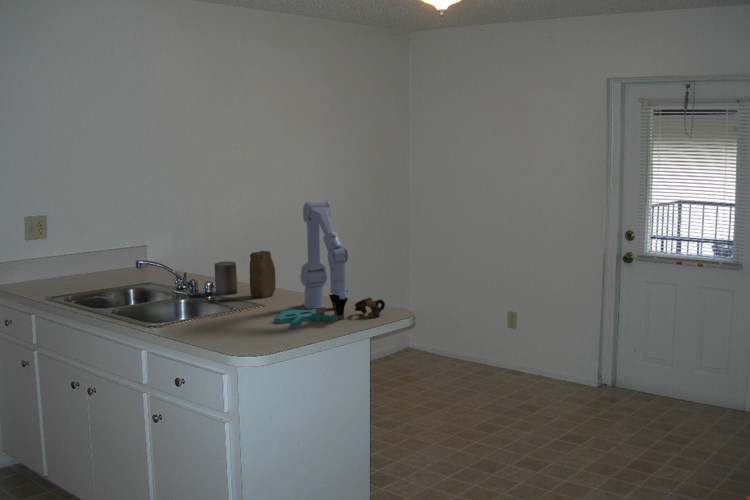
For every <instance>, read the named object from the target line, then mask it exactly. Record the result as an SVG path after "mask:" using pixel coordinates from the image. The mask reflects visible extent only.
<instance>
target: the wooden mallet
mask: <svg viewBox="0 0 750 500" xmlns="http://www.w3.org/2000/svg"><path fill="white" fill-rule="evenodd" d="M315 310H316V313H317V314H319V313H321V312H325V313H328V312H333V315H337V313H336V307H335V303H334V307H333V306H332V307H325V308H315ZM339 320H345V311H344V312H343V315H341V316H338V320H337V321H339Z"/></svg>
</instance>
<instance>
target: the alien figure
mask: <svg viewBox="0 0 750 500" xmlns="http://www.w3.org/2000/svg"><path fill="white" fill-rule="evenodd" d="M273 321H274V323H276V324H279V325H284V324H289V328H290V329H298V328H299V327H301V325H302V324H303V323H304V322H310V321H316V322H318V321H324V322H329V321H331V322H336V321H339V320H338V316H337V315H334V314H331V315H329V314H326V312H321V313H319V314H317V313H316V309H315V310H313V309H307V310H306V309H300V310H299V309H298V310H297V309H289V310H284V311H280V312H279V313H278V314H277V315H276V316H275V317H273Z"/></svg>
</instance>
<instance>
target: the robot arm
mask: <svg viewBox="0 0 750 500" xmlns="http://www.w3.org/2000/svg"><path fill="white" fill-rule="evenodd" d="M331 211H332V208H331V204H330V203H329V202H328V201H317V202H315V201H313V202H305V203H304V205H303V207H302V216H303V222H304V223H305V222H306V227H307V228H306V231H307V232H306V235H307V238H306V239H307V240H306V241H307V262H305V264H303V265H302V266H301V272H300V282H301V284H302V285H303V286H304V302H303V303H302V305H303V306H304V307H305V308H306V309H307V310H313V309H325V308H327V307H326V305H325V304H324V286H325V284H326V282H327V280H328V273H327V267H326V265H325V264H323V263H322V262H321V255H320V254H321V246H320V243H321V242H320V228H321V230H322V233H323V235H324V236H323V242H324V245H325V247H326V250H327V256H326V257H327V261H328V268H329V269H330V270H329V271H330V272H329V274H330V277H329V278H330V290H329V292H330V294H328V296H329V299H330V301H331V304H332V308H333V307H334V303H335V307H336V313H337V316H341V315H343V312H344V313H345V307H346V304H347V302H348V300H349V298H348V297H346V294H347V293H349V289H346V288H347V286H346V263H347V262H348V259H349V255H348V250H347V248H346V247H345V246H344V245H342V243H341V240H340V238H339V235H338V233H337V232H335V231H334V230H333V229H334V228H333V226H332V222H331V219H330V217H331V213H332V212H331Z"/></svg>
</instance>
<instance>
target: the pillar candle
mask: <svg viewBox="0 0 750 500" xmlns="http://www.w3.org/2000/svg"><path fill="white" fill-rule="evenodd" d="M213 267H214V282H215V294H216V295H220V296H229V295H234V294H237V293H238V277H237V263H236V262H235V261H226V260H225V261H220V262H219V261H218V262H214V266H213Z"/></svg>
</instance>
